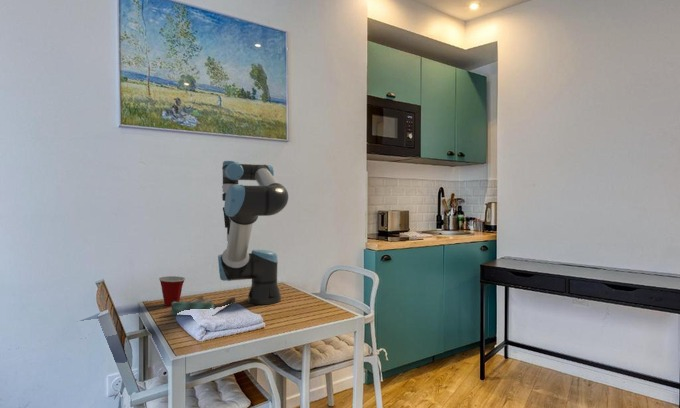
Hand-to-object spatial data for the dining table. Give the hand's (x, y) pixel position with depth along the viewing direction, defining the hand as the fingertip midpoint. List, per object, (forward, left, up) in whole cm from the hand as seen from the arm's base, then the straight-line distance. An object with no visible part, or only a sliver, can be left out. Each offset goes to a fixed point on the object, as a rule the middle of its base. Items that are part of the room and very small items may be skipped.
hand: (230, 241), depth 194 cm
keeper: (+1, +29, -27) cm, 39 cm away
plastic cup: (+18, +21, -27) cm, 38 cm away
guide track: (+1, +23, -26) cm, 35 cm away
